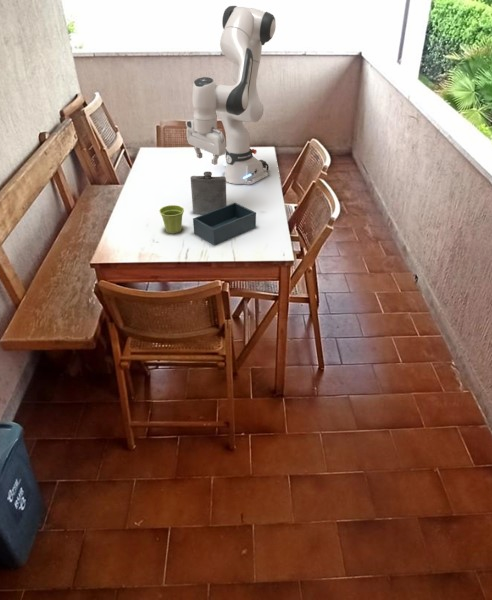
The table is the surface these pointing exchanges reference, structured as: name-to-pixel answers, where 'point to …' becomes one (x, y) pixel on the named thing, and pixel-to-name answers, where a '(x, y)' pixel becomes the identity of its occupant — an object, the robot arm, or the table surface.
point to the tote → (224, 223)
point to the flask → (208, 193)
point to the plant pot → (172, 218)
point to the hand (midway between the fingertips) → (207, 160)
